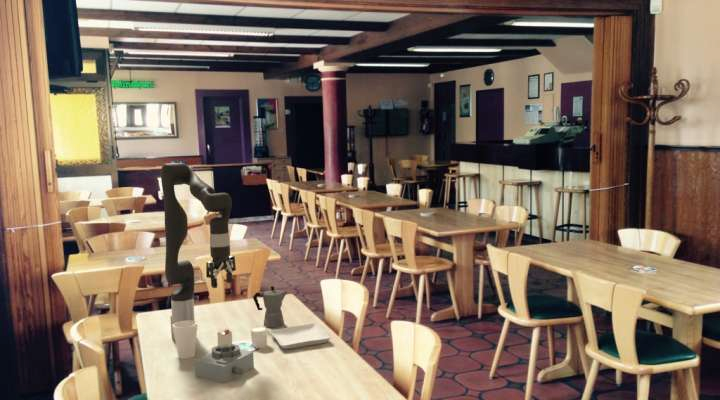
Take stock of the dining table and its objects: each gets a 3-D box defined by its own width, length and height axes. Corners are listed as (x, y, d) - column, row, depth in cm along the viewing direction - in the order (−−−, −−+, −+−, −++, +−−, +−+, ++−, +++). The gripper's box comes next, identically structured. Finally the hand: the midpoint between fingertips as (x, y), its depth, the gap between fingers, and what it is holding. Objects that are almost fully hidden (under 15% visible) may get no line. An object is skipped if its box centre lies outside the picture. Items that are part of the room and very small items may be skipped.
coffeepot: (287, 320, 292) (285, 282, 290) (289, 326, 283) (288, 287, 281) (253, 323, 289) (252, 285, 286) (254, 329, 279) (253, 290, 277)
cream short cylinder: (264, 348, 255) (263, 332, 254) (248, 348, 256) (247, 331, 256) (270, 343, 262) (269, 326, 261) (254, 342, 263) (254, 326, 262)
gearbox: (195, 376, 228) (194, 354, 227) (225, 361, 242) (224, 341, 241) (231, 384, 220) (230, 362, 219) (260, 368, 234) (259, 347, 233)
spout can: (215, 354, 232) (214, 330, 231) (224, 350, 237) (223, 326, 236) (226, 357, 230) (225, 332, 229) (235, 352, 234) (234, 328, 233)
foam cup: (203, 352, 252) (201, 321, 250) (190, 361, 243) (188, 328, 242) (183, 350, 255) (181, 319, 254) (169, 358, 246) (167, 326, 245)
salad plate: (281, 353, 250) (281, 345, 250) (268, 337, 270) (268, 329, 270) (331, 345, 258) (331, 337, 258) (315, 330, 278) (315, 322, 277)
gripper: (224, 240, 253) (226, 280, 255) (199, 246, 240) (202, 288, 242) (239, 241, 249) (241, 282, 251) (214, 248, 237) (216, 290, 239)
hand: (222, 285), depth 247 cm, fingers open, 8 cm apart
